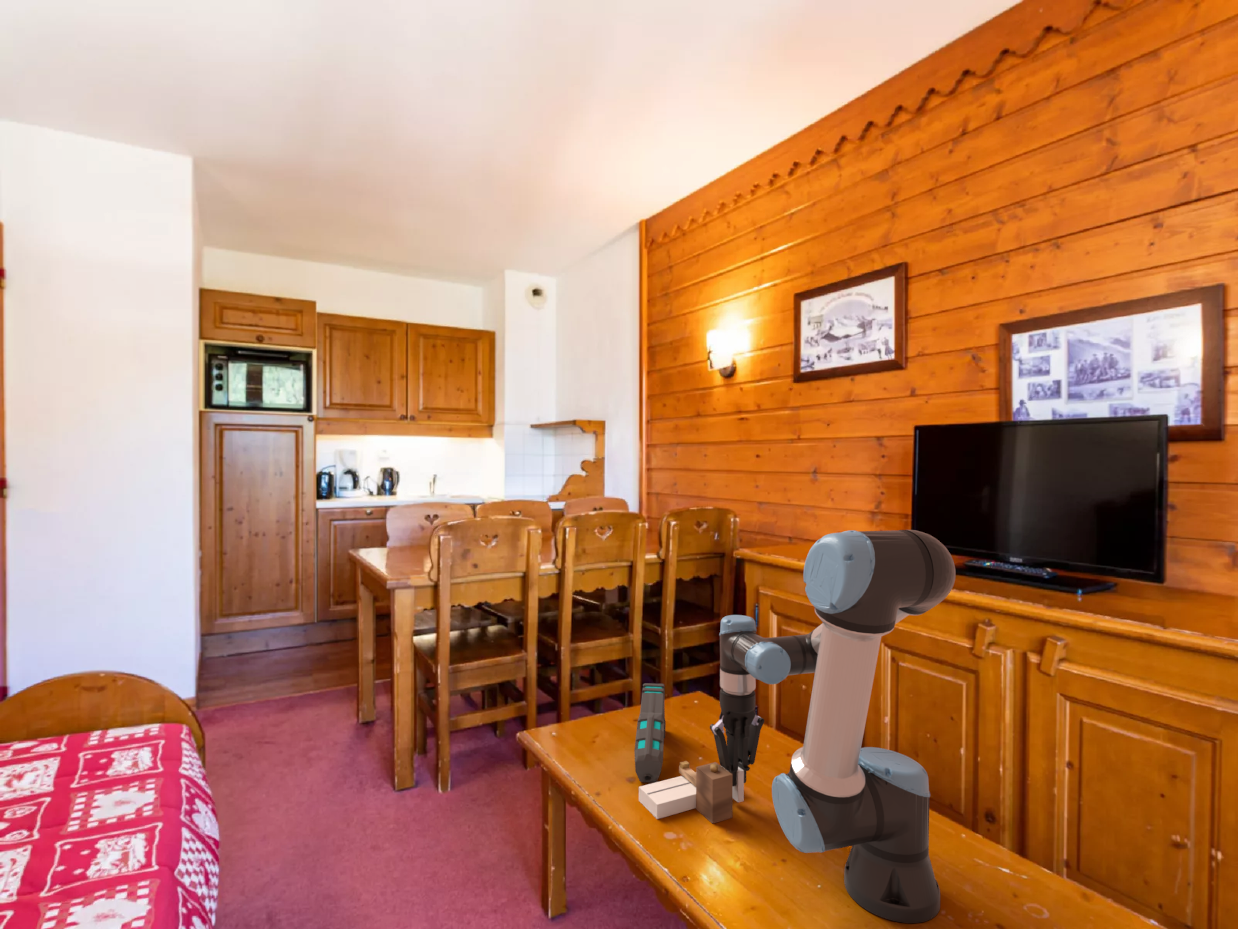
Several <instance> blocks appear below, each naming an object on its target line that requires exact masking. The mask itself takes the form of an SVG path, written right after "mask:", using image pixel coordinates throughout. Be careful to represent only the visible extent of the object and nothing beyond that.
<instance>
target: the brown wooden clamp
mask: <svg viewBox="0 0 1238 929" xmlns="http://www.w3.org/2000/svg"><path fill="white" fill-rule="evenodd" d="M695 769H696V770H695V771H694V770H693V769H692V768H691V767H690V762H688V761H687V760H684V761H680V762H679V766H678V774H680V776H684V777H685V778H686V779H687V780H689V781H690V782H691V783H692V784H693V785H695V786H696V808H695V810H697V812H699V813H700V814H701V815H702V816H703V817H705V819H706V820H707V821H709V822H710V823H711V824H715V823H719V822H722V821H726V820H730V819H732V818H733V798H732V776H733V774H731V773H730V772H729V771H727V770H726V769H724V768H723V767H722V766H721V765H720V763H718V762H716V761H714V762H711V763H706V764H703V765H698V766H696V767H695Z"/></svg>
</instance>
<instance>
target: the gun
mask: <svg viewBox="0 0 1238 929" xmlns="http://www.w3.org/2000/svg"><path fill="white" fill-rule="evenodd" d="M665 687H666V686H665V684H664V683H653V682H651V683H650V682H649V683H646V682H645V683H643V684H642V690H641V691H642V692H641V703H640V710H639V716H638V718H637V725H636V732H635V733H636V734H635V741H634V742H635V743H634V769H635V774H636V776H637V778H638V780H639V781H640V782H641V783H648V784H652V783H656V782H658V779H659V777H660V775H661V772H662V767H663V763H664V748H665V747H664V742H665V738H666V727H667V726H666V725H667V724H666V723H667V722H666V718H665V717H666V716H665V715H666V714H665V712H666V711H665V698H666V697H665V693H666V692H665Z"/></svg>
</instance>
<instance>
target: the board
mask: <svg viewBox="0 0 1238 929" xmlns="http://www.w3.org/2000/svg"><path fill="white" fill-rule="evenodd" d="M724 769H725V768H724ZM638 802H640V804H642V806H643V807H645V809H646V810H647V811H649V813H650V814H652V816H653V817H654V818H655V819H656V820H659V819H663V818H666V817H669V816H672V815H677V814H679V813H683V812H686V811H689V810H693V809H696V786H695V785H693V784H692V783H691V782H690V781H689V780H687V779H686V778H685V777H684V776H683V775H680V776H676V777H672V778H668V779H664V780H661V781H657V782H655V783H648V784H645V785H640V786H638Z"/></svg>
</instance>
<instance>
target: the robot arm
mask: <svg viewBox="0 0 1238 929" xmlns="http://www.w3.org/2000/svg"><path fill="white" fill-rule="evenodd" d="M802 576H803V577H802V578H803V583H804V584H806V585H805V588H804V590H805V594H806V596H807V598H808V600H809V603H811V605H812V606H813V607H814V613H815V615H816V616H817V617H818V618H819V620H820V621H821V622H822V623H821V624H820V625H818V626H816V628H815V629H813V630H812V631H811V632H809V633H807V634H797V635H796V634H795V635H786V636H785V635H784V636H773V637H763V636H761V635H758V633H757V630H758V629H757V626H756V621H755V619H754V618H753V617H752V616H749V615H742V614H730V615H726V616H724V617H722V619H721V620H720V630H719V631H720V632H719V634H718V636H719V664H720V665H719V687H720V690H719V707H720V711H721V712H720V714H719V717H718V718H719V719H718V721H717V722H716V723H715V724H714V723H711V724H710V725H709V729H710V731H711V733H712V734H713V738H714V742H715V747H716V752H717V753H716V754H717V757H718V761H719V765H720V766H722V767H723V768H725V769H726V770H727V771H729V772H730V773H731V774H733V776H732V800H734V801H736V802H737V803H741V802H744V801H745V800H744V799H745V796H744V795H745V794H744V792H745V784H746V782H747V772H749V771H750V769H751V767H750V765H754V763H755V760H756V756H757V751H758V747H759V746H758V745H759V741H760V735H761V730H762V727H763V726H764V724H765V719H764V718H763V717H761V716H759V715H757V714H756V711H755V709H756V691H755V690H756V687H757V686H756V685H757V684H756V682H757V681H756V680H759V681H761V683H762V682H763V683H764V684H767V685H777V684H779V683H780V682H782V681H784V680H786V678H787V677H788V676H794V675H796V676H797V675H803V674H814V677H813V683H812V689H811V690H812V691H811V696H810V701H809V708H808V714H807V720H806V727H805V734H804V740H803V745H802V746H801V747H799V748H798V749H796V750H795V751H794V753H793V754H792V756H791V760H790V766H789V771H788V773H785V772H782V773H780V774H778V775H777V776H775V777H774V778H773V779H772V784H771V798H772V803H773V807H774V808H773V809H774V811H775V814H776V817H777V821H778V823H779V826H780V827H781V830H782V832H783V834H784V835H785V837H786V839H787V840H788V842H789V843H790V845H792V846H793V847H794V849H796V850H798V851H799V852H801V853H805V854H808V853H809V854H810V853H825V852H827V851H832V850H836V849H841V848H847V847H851V848H850V851H849V855H848V857H847V859H846V862H845V864H844V868H843V869H844V870H843V873H844V874H843V875H844V876H843V877H844V878H843V880H844V881H843V883H844V886H845V890H846V892H847V893H848V895H849V896H850V898H852V900H853V901H854V902H856V904H858V905H859V906H860V907H861V908H863V909H864V910H866V911H867V912H869V913H871V914H873V915H875V916H877V917H880V918H882V919H885V920H888V921H891V922H892V921H893V922H897V923H903V924H905V923H906V924H919V923H924V922H927V921H930V920H932V919H934V918H935V917H936V916H937V915H938V913H939V911H940V909H941V889H940V885H939V883H938V881H937V878H936V877H935V876H936V875H935V873H934V869H933V865H932V862H931V859H930V853H929V852H930V851H929V850H930V849H929V845H930V844H929V843H930V835H929V834H930V797H931V792H930V785H929V776H928V772H927V771H926V769H925V768H924V766H922V765H921V764H920V763H919V762H917V761H916V760H914V759H913V758H912V757H910V756H908V755H905V754H902V753H899V752H898V751H894V750H890V749H887V748H881V747H875V746H874V747H873V746H864V747H862V744H863V738H864V734H865V727H866V722H867V717H868V712H869V706H870V700H871V695H872V691H873V690H872V689H873V684H874V679H875V675H876V674H875V673H876V669H877V668H876V667H877V663H878V656H879V652H880V646H881V640H882V638H883V636H886V635H888V634H890V633H891V632H893V631H894V629H895V626H896V625H897V624H898V623H899V622H901V621H902V620H904V619H905V618H907V617H908V616H920V615H924V614H925V613H926V612H928V611H930V610H931V609H933V608H934V607H936V606H937V605H939V604H940V603H941V602H943V601H944V600H945V599H946V598H947V597H948V595H950V593H951V591H952V590H953V587H954V585H955V581H956V566H955V563H954V559H953V557H952V555H951V553H950V552H949V550H948V548H947V547H946V546H945V545H944V544H943V543H942V542H940V540H938V538H936V537H934V536H932V535H931V534H929V533H925V532H923V531H919V530H915V529H899V530H898V529H897V530H865V531H864V530H863V531H862V530H861V531H860V530H855V529H854V530H845V531H842V532H832V533H828V534H825V535H823V536H821V538H819V539H818V540H816V541H815V543H814V544H812V546H811V547H810V549H809V551H808V553H807V556H806V558H805V561H804V566H803V575H802ZM724 729H725V730H724ZM725 736H726V737H725Z"/></svg>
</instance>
